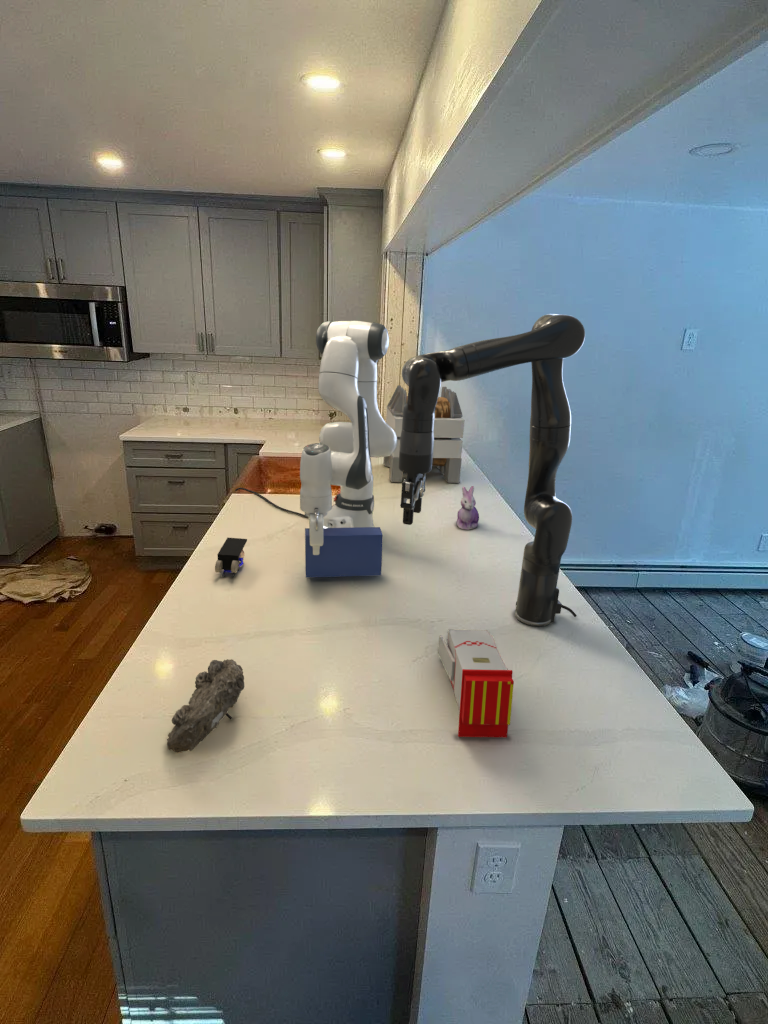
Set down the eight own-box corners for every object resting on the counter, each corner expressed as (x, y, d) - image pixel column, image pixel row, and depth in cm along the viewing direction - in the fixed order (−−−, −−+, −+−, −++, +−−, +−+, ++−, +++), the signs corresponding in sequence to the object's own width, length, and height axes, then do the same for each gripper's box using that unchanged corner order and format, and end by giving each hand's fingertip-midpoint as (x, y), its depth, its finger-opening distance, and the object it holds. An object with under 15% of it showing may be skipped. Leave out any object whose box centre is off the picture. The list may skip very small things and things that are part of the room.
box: (305, 577, 161) (305, 536, 157) (305, 568, 167) (305, 528, 163) (381, 575, 164) (382, 534, 160) (378, 566, 170) (379, 527, 166)
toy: (488, 613, 130) (523, 677, 101) (484, 667, 133) (517, 744, 104) (435, 612, 130) (455, 676, 101) (432, 666, 133) (451, 743, 103)
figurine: (464, 532, 204) (468, 492, 199) (449, 522, 212) (452, 484, 207) (486, 528, 208) (490, 489, 203) (469, 519, 216) (473, 481, 211)
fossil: (192, 660, 117) (244, 628, 112) (224, 691, 120) (276, 661, 115) (142, 746, 98) (202, 712, 93) (182, 779, 101) (242, 748, 96)
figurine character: (238, 584, 162) (249, 557, 175) (236, 562, 158) (247, 536, 172) (215, 584, 161) (227, 556, 175) (212, 561, 158) (225, 535, 171)
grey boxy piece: (382, 463, 289) (386, 382, 275) (445, 464, 293) (451, 384, 279) (390, 482, 257) (394, 392, 243) (460, 483, 261) (468, 394, 247)
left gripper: (329, 515, 148) (328, 563, 153) (325, 491, 167) (325, 535, 172) (304, 515, 147) (304, 564, 152) (304, 491, 167) (304, 535, 171)
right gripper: (426, 458, 119) (421, 530, 124) (438, 444, 132) (433, 510, 137) (391, 455, 121) (388, 526, 126) (407, 441, 134) (403, 506, 139)
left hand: (315, 548), depth 162 cm, fingers closed on box, 6 cm apart
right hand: (412, 517), depth 132 cm, fingers open, 8 cm apart
